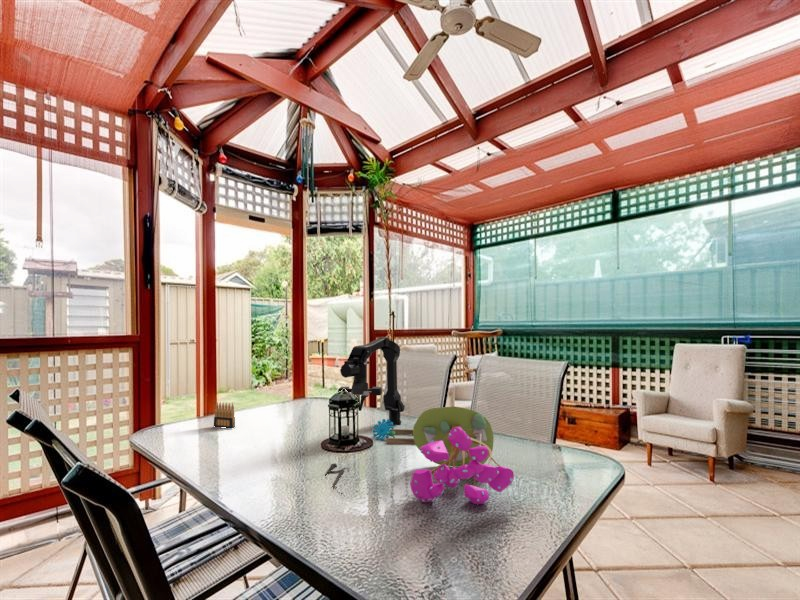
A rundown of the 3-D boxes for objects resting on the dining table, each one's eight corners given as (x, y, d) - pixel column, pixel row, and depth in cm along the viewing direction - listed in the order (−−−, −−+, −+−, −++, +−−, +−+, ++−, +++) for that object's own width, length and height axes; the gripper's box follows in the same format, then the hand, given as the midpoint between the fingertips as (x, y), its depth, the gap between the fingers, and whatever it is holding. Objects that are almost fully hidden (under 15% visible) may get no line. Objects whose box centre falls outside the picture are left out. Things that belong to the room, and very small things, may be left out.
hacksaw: (331, 466, 132) (331, 462, 132) (360, 468, 130) (360, 463, 130) (306, 498, 108) (306, 493, 108) (341, 500, 106) (341, 495, 107)
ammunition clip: (213, 427, 179) (214, 402, 180) (216, 426, 181) (216, 401, 182) (232, 429, 176) (233, 403, 177) (235, 428, 178) (235, 402, 179)
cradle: (389, 433, 169) (389, 426, 169) (433, 434, 168) (433, 427, 168) (386, 443, 155) (386, 436, 155) (435, 444, 154) (435, 437, 154)
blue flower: (367, 434, 163) (379, 415, 168) (372, 441, 166) (384, 422, 172) (386, 442, 156) (399, 422, 161) (391, 450, 159) (403, 430, 165)
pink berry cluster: (487, 381, 127) (500, 424, 93) (509, 460, 128) (529, 531, 94) (403, 401, 132) (386, 448, 98) (425, 476, 133) (415, 549, 99)
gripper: (335, 377, 157) (334, 415, 156) (379, 377, 156) (379, 415, 155) (340, 373, 168) (340, 408, 167) (382, 374, 167) (382, 409, 166)
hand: (360, 410), depth 164 cm, fingers closed
